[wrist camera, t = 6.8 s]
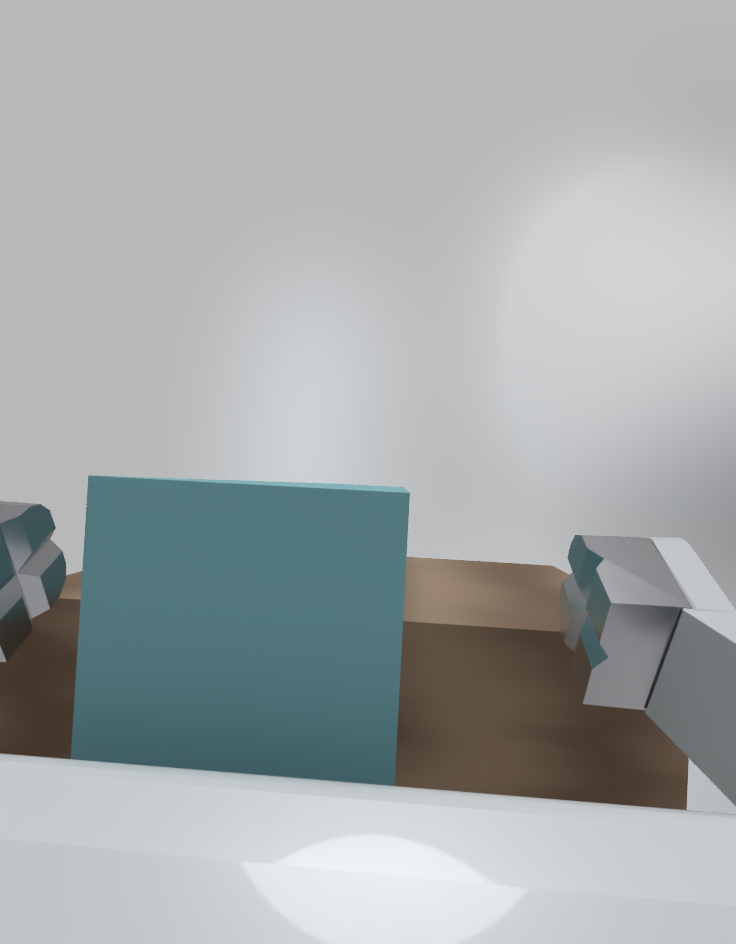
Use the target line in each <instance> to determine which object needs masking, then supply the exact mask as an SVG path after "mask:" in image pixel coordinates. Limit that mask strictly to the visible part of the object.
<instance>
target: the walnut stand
mask: <svg viewBox="0 0 736 944" xmlns="http://www.w3.org/2000/svg"><path fill="white" fill-rule="evenodd" d="M82 572H83V571H81V572H77V573H74V574H70V575H67V576H66V580H65V583H64V586H63V589H62V592H61V595H60V597H59V598H58V599H57V601H56V602H55V603H54V604H53V606H52V607H51V608H50V609H49V610H47V611H45V612H43V613H41V614H40V615H38V616H36V617H34V618H32V622H33V630H32V632H31V633H30V634H29V635H28V637H27V638H26V639H25V640H24V641H23V643H22V644H21V645H20V646H19V648H18V649H17V650H16V651H15V652H14V654H13V655H12V656H11V657H10V658H9V660H8V661H7V662H0V753H1V754H13V755H25V756H38V757H50V758H62V759H71V745H72V729H73V713H74V698H75V682H76V666H77V650H78V635H79V619H80V603H81V587H82ZM568 576H569V574H567V573H565V572H563V571H561V570H559V569H557V568H556V567H554V566H546V565H529V564H513V563H497V562H480V561H464V560H447V559H430V558H414V557H406V573H405V593H404V612H403V632H402V651H401V670H400V690H399V709H398V728H397V748H396V767H395V786H401V787H413V788H425V789H437V790H449V791H461V792H473V793H485V794H497V795H510V796H522V797H534V798H546V799H558V800H570V801H582V802H594V803H606V804H618V805H631V806H643V807H655V808H667V809H679V810H686V807H687V783H688V757H687V755H686V754H685V753H684V752H683V751H682V750H681V749H680V748H679V747H678V746H677V745H676V744H675V743H674V742H673V741H672V740H671V739H670V738H669V737H668V736H667V735H666V734H665V733H664V732H663V731H662V730H661V729H660V728H659V727H658V726H657V725H656V724H655V723H654V722H653V721H652V720H651V718H650V717H649V716H648V715H647V714H646V713H645V712H646V710H638V709H628V708H618V707H608V706H598V705H587V704H583V703H582V700H581V697H580V694H579V690H578V687H577V684H576V681H575V678H574V674H573V671H572V668H571V665H572V661H573V657H574V653H575V652H574V651H573V650H571V649H570V648H569V647H568V646H567V645H566V644H564V641H563V637H562V634H561V630H560V623H559V597H560V591H561V586H562V581H563V580H565V579H566V578H567V577H568Z"/></svg>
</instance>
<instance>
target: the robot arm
mask: <svg viewBox="0 0 736 944" xmlns="http://www.w3.org/2000/svg"><path fill="white" fill-rule="evenodd" d="M54 530H55V525H54V522H53V519H52V516H51V513H50V510H48V509H47V508H45V507H44V506H42V505H41V504H30V503H17V502H4V501H0V662H7V661H8V660H9V658H10V657H11V656H12V655H13V654H14V652H15V651H16V650H17V649H18V648H19V646H20V645H21V644H22V643H23V641H24V640H25V639H26V638H27V637H28V635H29V634H30V633H31V632H32V630H33V622H32V618H34V617H36V616H38V615H40V614H41V613H43V612H45V611H47V610H49V609H50V608H51V607H52V606H53V604H54V603H55V602H56V601H57V599H58V598H59V597H60V595H61V592H62V589H63V586H64V583H65V580H66V562H65V559H64V556H63V552H62V550H61V549H60V548H59V547H58V546H56V544H54V543H53V542H52V541H51V540H50V537H51V536H52V534H53V532H54ZM568 560H569V563H570V565H571V568H572V571H573V573H572V574H570V575H569V576H568V577H567V578H566V579H565V580H563V581H562V586H561V591H560V597H559V623H560V630H561V634H562V637H563V641H564V644H566V645H567V646H568V647H569V648H570V649H571V650H573V651H574V652H575V653H574V657H573V661H572V665H571V668H572V671H573V674H574V678H575V681H576V684H577V687H578V690H579V694H580V697H581V700H582V703H583V704H587V705H598V706H608V707H618V708H628V709H638V710H646V712H645V713H646V714H647V715H648V716H649V717H650V718H651V720H652V721H653V722H654V723H655V724H656V725H657V726H658V727H659V728H660V729H661V730H662V731H663V732H664V733H665V734H666V735H667V736H668V737H669V738H670V739H671V740H672V741H673V742H674V743H675V744H676V745H677V746H678V747H679V748H680V749H681V750H682V751H683V752H684V753H685V754H686V755H687V757H688V758H690V760H691V761H692V762H693V763H694V764H695V765H696V766H697V767H698V768H699V769H700V770H701V771H702V772H703V773H704V774H705V775H706V776H707V777H708V778H709V779H710V780H711V781H712V782H713V783H714V784H715V785H716V786H717V787H718V788H719V789H720V790H721V791H722V793H723V794H724V795H725V796H727V798H728V799H729V800H730V801H731V802H732V803H733V804H734V805H735V806H736V610H735V608H734V607H733V605H732V604H731V603H730V601H729V600H728V598H727V597H726V596H725V594H724V593H723V591H722V590H721V589H720V587H719V586H718V585H717V583H716V581H715V580H714V579H713V577H712V576H711V574H710V573H709V572H708V570H707V569H706V567H705V566H704V565H703V563H702V562H701V560H700V559H699V557H698V556H697V555H696V553H695V552H694V550H693V549H692V548H691V547H690V545H689V544H688V542H687V541H685V540H683V539H681V538H657V537H645V538H638V537H612V536H585V535H575V537H574V539H573V541H572V543H571V546H570V550H569V554H568ZM0 944H736V814H727V813H714V812H702V811H690V810H679V809H667V808H655V807H643V806H631V805H618V804H606V803H594V802H582V801H570V800H558V799H546V798H534V797H522V796H510V795H497V794H485V793H473V792H461V791H449V790H437V789H425V788H413V787H401V786H389V785H376V784H364V783H352V782H340V781H328V780H316V779H304V778H292V777H280V776H268V775H256V774H244V773H231V772H219V771H207V770H195V769H183V768H171V767H159V766H147V765H135V764H123V763H111V762H99V761H87V760H74V759H62V758H50V757H38V756H25V755H13V754H1V753H0Z"/></svg>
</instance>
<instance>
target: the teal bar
mask: <svg viewBox="0 0 736 944" xmlns="http://www.w3.org/2000/svg"><path fill="white" fill-rule="evenodd" d="M409 496H410V493H409V492H408V491H407V490H406V489H405V488H404V487H386V486H367V485H348V484H323V483H292V482H264V481H233V480H204V479H174V478H144V477H114V476H89V477H88V493H87V508H86V525H85V540H84V556H83V572H82V587H81V603H80V619H79V635H78V650H77V666H76V682H75V698H74V713H73V729H72V745H71V759H74V760H87V761H99V762H111V763H123V764H135V765H147V766H159V767H171V768H183V769H195V770H207V771H219V772H231V773H244V774H256V775H268V776H280V777H292V778H304V779H316V780H328V781H340V782H352V783H364V784H376V785H389V786H395V767H396V748H397V728H398V709H399V690H400V670H401V651H402V632H403V612H404V593H405V573H406V553H407V552H406V551H407V535H408V515H409Z"/></svg>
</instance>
